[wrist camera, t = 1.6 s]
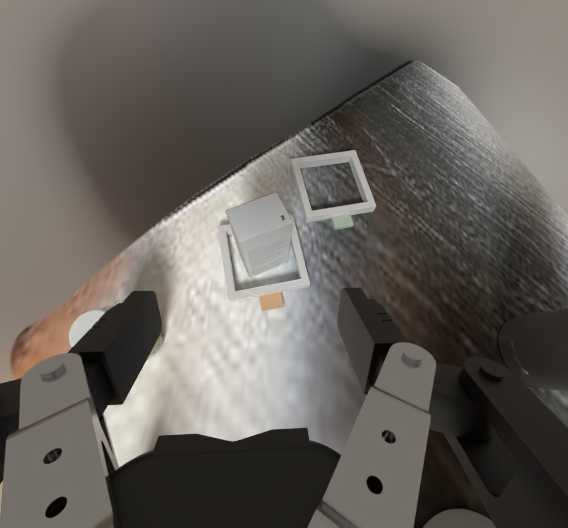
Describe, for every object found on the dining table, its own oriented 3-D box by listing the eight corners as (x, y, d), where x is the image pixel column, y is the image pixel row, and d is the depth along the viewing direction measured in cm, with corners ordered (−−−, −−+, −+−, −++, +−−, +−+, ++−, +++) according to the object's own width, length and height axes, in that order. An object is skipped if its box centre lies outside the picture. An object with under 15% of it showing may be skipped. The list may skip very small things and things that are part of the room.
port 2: (352, 156, 45) (355, 150, 44) (376, 222, 41) (380, 217, 40) (290, 165, 44) (290, 158, 42) (308, 234, 40) (310, 229, 38)
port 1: (291, 219, 40) (292, 214, 39) (312, 300, 36) (313, 298, 35) (219, 230, 39) (217, 225, 38) (232, 317, 35) (230, 315, 34)
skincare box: (276, 238, 39) (278, 189, 28) (288, 263, 38) (295, 222, 27) (237, 253, 38) (224, 208, 27) (248, 279, 37) (239, 244, 26)
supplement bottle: (174, 330, 34) (136, 319, 24) (145, 371, 32) (93, 376, 23) (139, 309, 35) (89, 290, 25) (109, 348, 33) (44, 343, 23)
